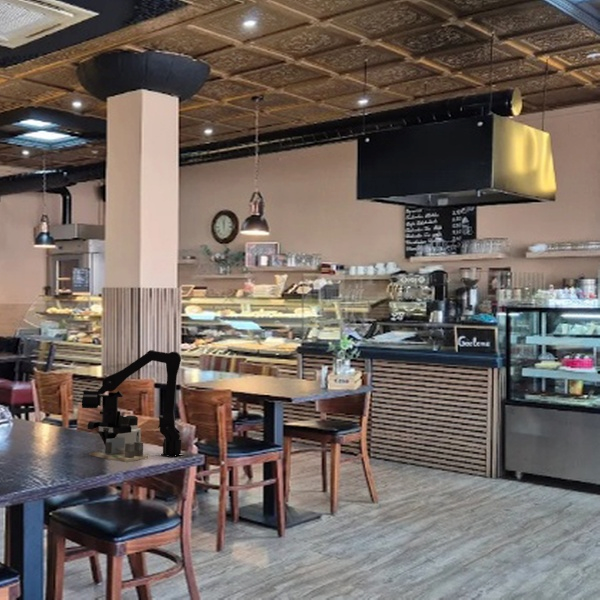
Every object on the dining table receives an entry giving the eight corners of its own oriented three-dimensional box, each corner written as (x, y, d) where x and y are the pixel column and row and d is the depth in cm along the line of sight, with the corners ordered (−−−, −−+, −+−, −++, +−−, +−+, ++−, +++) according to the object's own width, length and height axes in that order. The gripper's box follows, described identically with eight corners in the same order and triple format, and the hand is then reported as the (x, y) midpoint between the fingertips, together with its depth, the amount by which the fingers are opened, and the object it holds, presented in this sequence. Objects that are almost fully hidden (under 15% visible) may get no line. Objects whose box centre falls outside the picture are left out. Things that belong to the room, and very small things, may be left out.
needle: (111, 453, 295) (111, 442, 296) (108, 453, 294) (108, 442, 294) (108, 452, 296) (108, 442, 296) (105, 453, 295) (105, 442, 295)
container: (140, 447, 322) (141, 415, 323) (134, 450, 315) (136, 417, 315) (122, 446, 323) (123, 414, 323) (115, 449, 315) (117, 416, 316)
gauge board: (148, 458, 298) (148, 442, 298) (126, 461, 289) (126, 445, 289) (111, 451, 309) (112, 436, 309) (89, 455, 300) (90, 439, 300)
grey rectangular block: (134, 453, 299) (135, 439, 299) (115, 456, 291) (116, 441, 292) (120, 451, 304) (121, 436, 304) (101, 454, 296) (102, 439, 296)
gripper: (142, 409, 304) (141, 450, 303) (109, 405, 315) (108, 444, 314) (120, 411, 295) (119, 453, 294) (87, 407, 306) (85, 448, 305)
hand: (108, 449), depth 302 cm, fingers closed
